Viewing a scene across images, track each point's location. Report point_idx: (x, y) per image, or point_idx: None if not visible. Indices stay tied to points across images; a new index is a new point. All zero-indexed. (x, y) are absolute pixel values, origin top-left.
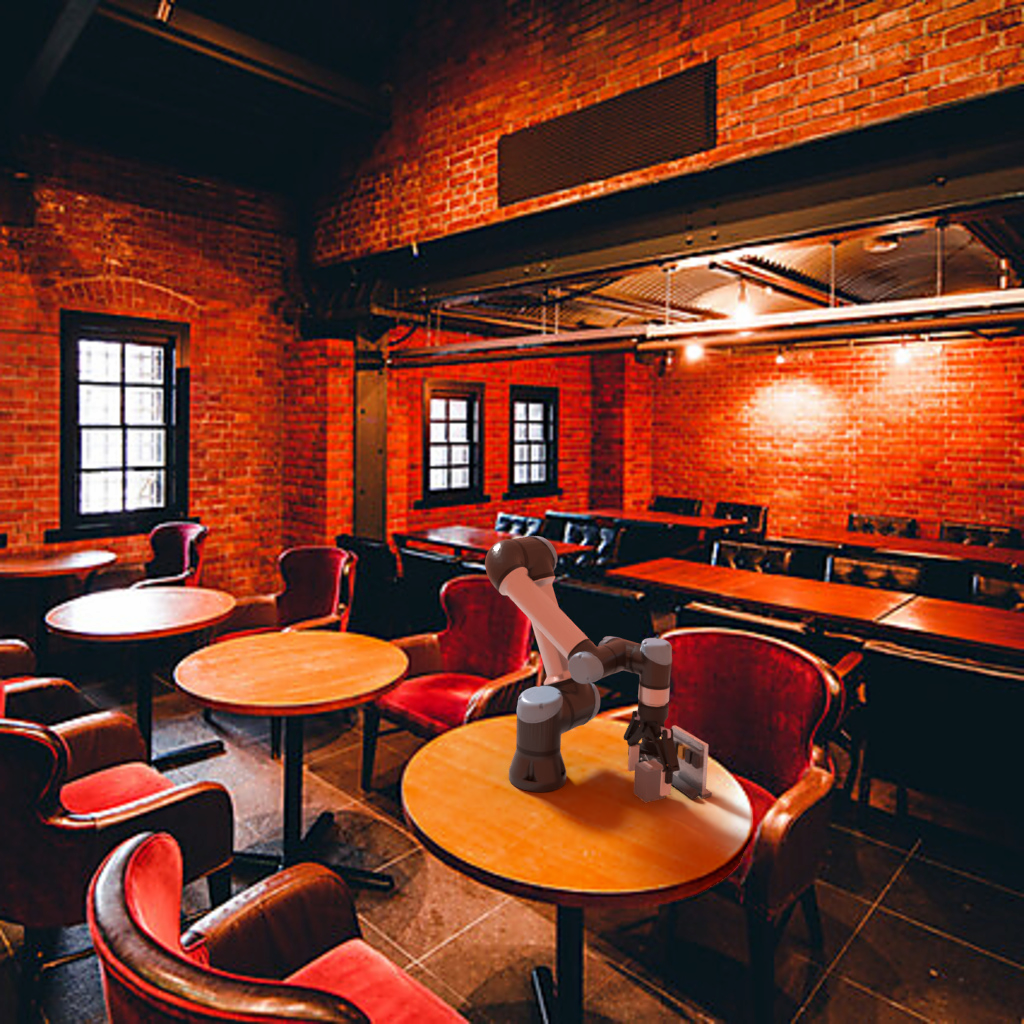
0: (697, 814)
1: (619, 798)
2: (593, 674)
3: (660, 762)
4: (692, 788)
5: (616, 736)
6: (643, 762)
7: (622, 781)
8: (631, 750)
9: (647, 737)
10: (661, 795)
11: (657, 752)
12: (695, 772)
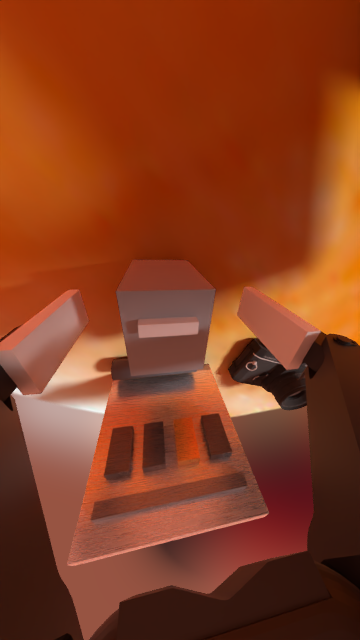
0: None
1: (181, 195)
2: None
3: (241, 372)
4: (120, 377)
5: None
6: (191, 322)
7: (247, 270)
8: (293, 326)
9: None
10: (67, 290)
11: (266, 383)
12: (132, 412)
